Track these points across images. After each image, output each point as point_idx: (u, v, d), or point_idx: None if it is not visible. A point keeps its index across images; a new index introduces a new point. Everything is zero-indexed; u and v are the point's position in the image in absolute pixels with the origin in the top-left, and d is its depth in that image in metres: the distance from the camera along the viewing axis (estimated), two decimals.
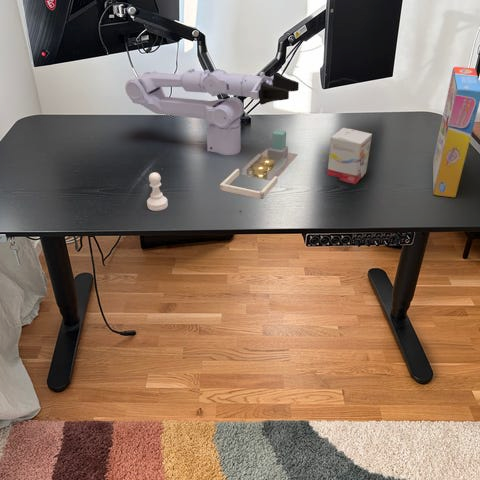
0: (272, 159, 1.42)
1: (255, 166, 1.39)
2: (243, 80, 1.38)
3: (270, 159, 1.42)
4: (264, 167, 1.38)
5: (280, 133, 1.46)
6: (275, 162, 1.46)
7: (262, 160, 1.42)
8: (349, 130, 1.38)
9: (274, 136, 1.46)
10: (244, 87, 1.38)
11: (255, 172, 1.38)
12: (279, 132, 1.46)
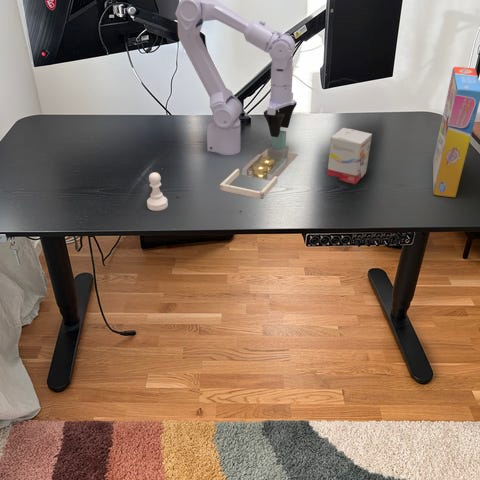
0: (272, 159, 1.42)
1: (255, 166, 1.39)
2: (285, 87, 1.37)
3: (270, 159, 1.42)
4: (264, 167, 1.38)
5: (280, 133, 1.46)
6: (275, 162, 1.46)
7: (262, 160, 1.42)
8: (349, 130, 1.38)
9: None
10: (278, 89, 1.37)
11: (255, 172, 1.38)
12: None
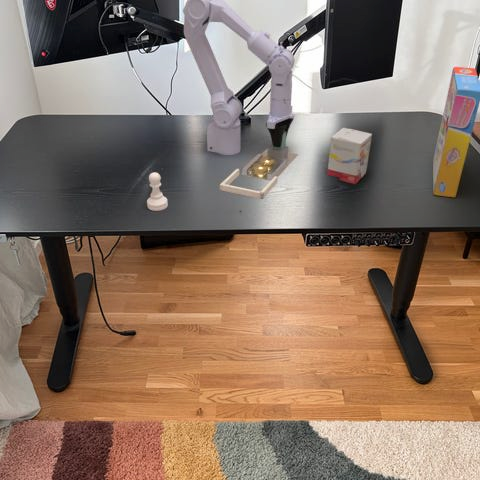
0: (272, 159, 1.43)
1: (255, 166, 1.39)
2: (285, 101, 1.39)
3: (270, 159, 1.42)
4: (264, 167, 1.38)
5: None
6: (275, 162, 1.46)
7: (262, 160, 1.42)
8: (349, 130, 1.38)
9: None
10: (278, 103, 1.39)
11: (255, 172, 1.38)
12: None
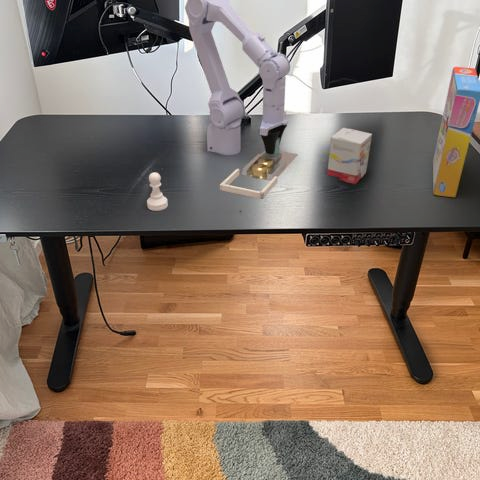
0: (270, 160, 1.42)
1: (254, 167, 1.38)
2: (278, 107, 1.35)
3: (268, 160, 1.42)
4: (263, 168, 1.38)
5: None
6: None
7: (261, 162, 1.41)
8: (349, 130, 1.38)
9: None
10: (271, 109, 1.35)
11: (254, 173, 1.38)
12: None
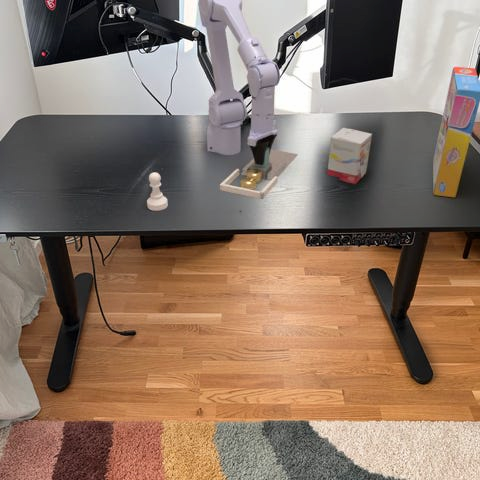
0: (259, 171, 1.36)
1: (243, 181, 1.33)
2: (266, 116, 1.29)
3: (257, 172, 1.36)
4: (252, 182, 1.32)
5: None
6: (275, 162, 1.46)
7: (249, 174, 1.35)
8: (349, 130, 1.38)
9: None
10: (259, 118, 1.30)
11: (243, 187, 1.32)
12: None
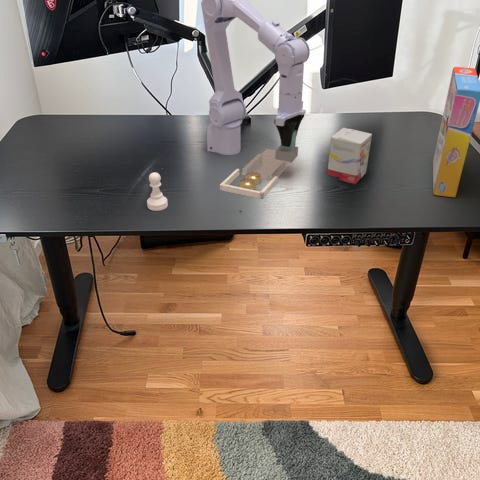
0: (258, 174, 1.36)
1: (242, 182, 1.32)
2: (295, 95, 1.25)
3: (256, 174, 1.36)
4: (251, 183, 1.32)
5: None
6: (275, 162, 1.46)
7: (248, 176, 1.35)
8: (349, 130, 1.38)
9: None
10: (288, 98, 1.26)
11: None
12: None
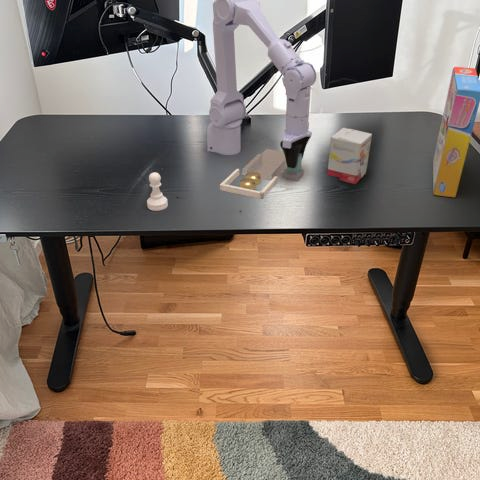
0: (258, 174, 1.36)
1: (242, 182, 1.32)
2: (302, 118, 1.28)
3: (256, 174, 1.36)
4: (251, 183, 1.32)
5: None
6: (275, 162, 1.46)
7: (248, 176, 1.35)
8: (349, 130, 1.38)
9: None
10: (295, 120, 1.28)
11: None
12: None
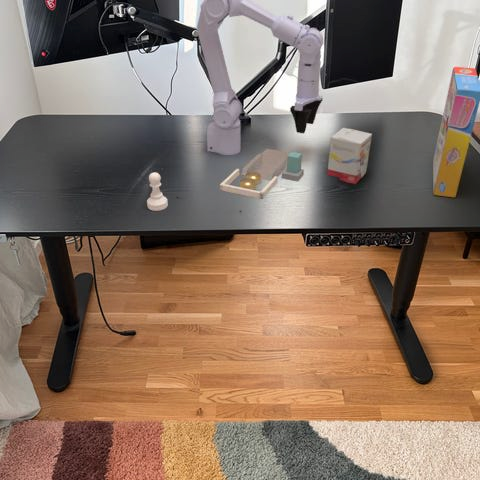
0: (258, 174, 1.36)
1: (242, 182, 1.32)
2: (313, 82, 1.35)
3: (256, 174, 1.36)
4: (251, 183, 1.32)
5: (295, 156, 1.36)
6: (275, 162, 1.46)
7: (248, 176, 1.35)
8: (349, 130, 1.38)
9: (289, 159, 1.36)
10: (306, 84, 1.35)
11: None
12: (294, 155, 1.36)
